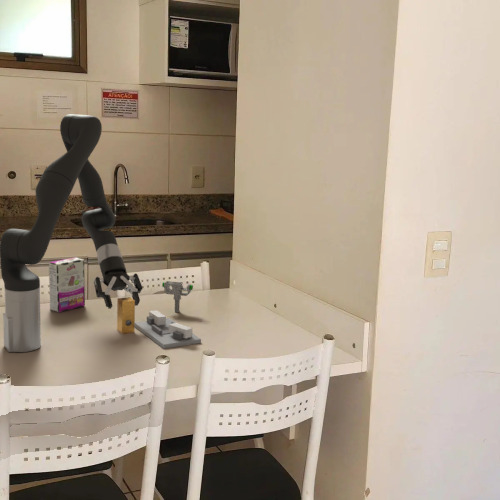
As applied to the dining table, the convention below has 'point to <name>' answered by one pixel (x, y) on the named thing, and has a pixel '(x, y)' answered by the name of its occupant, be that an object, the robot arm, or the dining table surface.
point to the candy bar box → (66, 284)
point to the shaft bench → (166, 331)
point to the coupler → (125, 315)
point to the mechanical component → (176, 291)
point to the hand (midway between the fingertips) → (124, 305)
